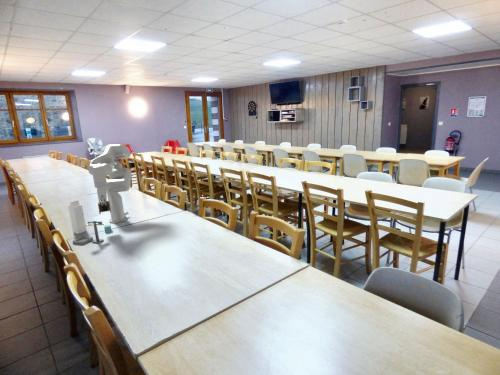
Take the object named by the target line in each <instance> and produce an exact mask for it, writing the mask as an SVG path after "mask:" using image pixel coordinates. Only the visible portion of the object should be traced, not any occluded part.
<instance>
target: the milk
mask: <svg viewBox="0 0 500 375" xmlns="http://www.w3.org/2000/svg"><path fill="white" fill-rule="evenodd" d="M67 209H68V213H69V217H70V223H71V229H72V232H73V234H77V235H79V234H82V233H85V232H87V231H88V230H87V226H84V224H86V219H85V216H84V210H83V209H84V208H83V204H81V203H80V201H79V200H74V201H70V202H69V205H68V208H67Z"/></svg>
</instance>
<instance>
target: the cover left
mask: <svg viewBox="0 0 500 375" xmlns="http://www.w3.org/2000/svg"><path fill="white" fill-rule="evenodd" d="M106 205H107V209H108V211H107V212H109V213H110V212H111V208H110V202H109V201H108V200H107V201H106ZM97 206H98V213H99V215H101V213H104V212H103V211H102V204H101V202H99V201H98V202H97Z"/></svg>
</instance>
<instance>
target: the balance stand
mask: <svg viewBox="0 0 500 375" xmlns="http://www.w3.org/2000/svg"><path fill="white" fill-rule="evenodd" d="M96 224H97V223H96ZM96 224H93V223H92V226H93V230H94V237H95V239H93V240H92V241H91V242H92V244H100V243H102V242H104V239H101V238H100V237H99V233H98V225H96Z"/></svg>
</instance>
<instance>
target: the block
mask: <svg viewBox="0 0 500 375" xmlns="http://www.w3.org/2000/svg"><path fill="white" fill-rule="evenodd" d="M103 229H104V233H111V232H112V226H111V224H106V225H105V224H104V225H103Z"/></svg>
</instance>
